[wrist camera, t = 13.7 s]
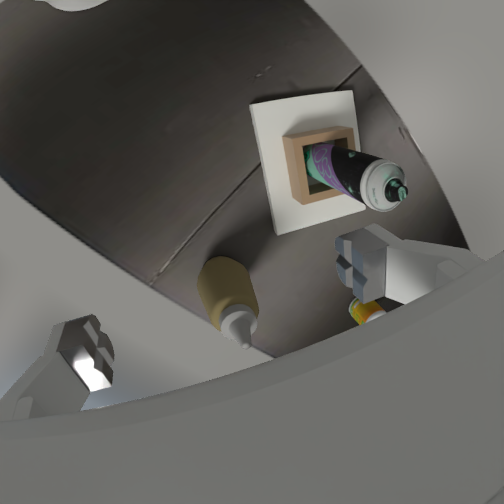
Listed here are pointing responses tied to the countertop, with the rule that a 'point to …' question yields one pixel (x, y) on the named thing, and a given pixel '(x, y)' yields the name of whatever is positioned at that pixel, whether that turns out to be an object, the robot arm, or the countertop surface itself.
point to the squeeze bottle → (229, 299)
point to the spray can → (357, 175)
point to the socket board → (292, 160)
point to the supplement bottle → (365, 311)
